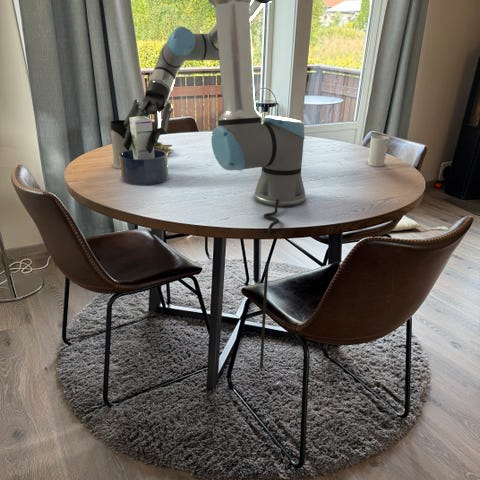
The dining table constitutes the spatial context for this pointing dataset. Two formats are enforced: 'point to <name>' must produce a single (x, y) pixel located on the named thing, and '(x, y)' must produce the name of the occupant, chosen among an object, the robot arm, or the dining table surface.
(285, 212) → the dining table surface
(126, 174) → the pot
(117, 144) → the white black mug
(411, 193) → the dining table surface
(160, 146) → the salad plate
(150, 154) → the syrup box
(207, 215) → the dining table surface
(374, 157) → the cream cylindrical container
